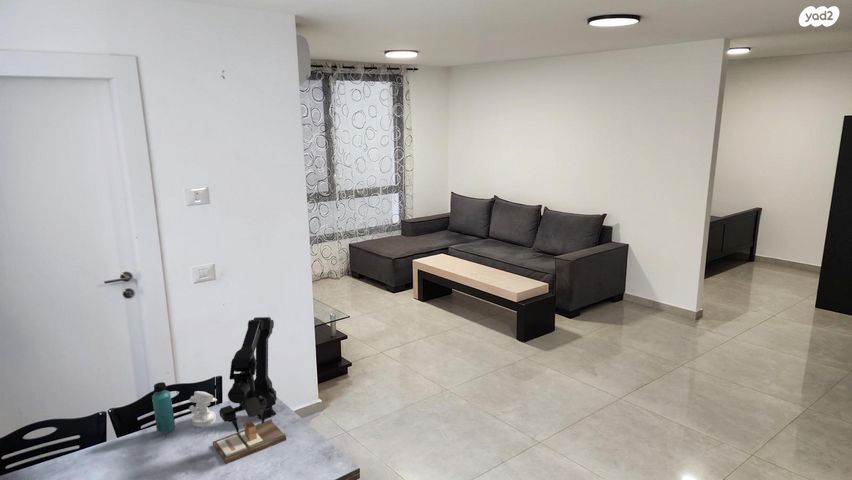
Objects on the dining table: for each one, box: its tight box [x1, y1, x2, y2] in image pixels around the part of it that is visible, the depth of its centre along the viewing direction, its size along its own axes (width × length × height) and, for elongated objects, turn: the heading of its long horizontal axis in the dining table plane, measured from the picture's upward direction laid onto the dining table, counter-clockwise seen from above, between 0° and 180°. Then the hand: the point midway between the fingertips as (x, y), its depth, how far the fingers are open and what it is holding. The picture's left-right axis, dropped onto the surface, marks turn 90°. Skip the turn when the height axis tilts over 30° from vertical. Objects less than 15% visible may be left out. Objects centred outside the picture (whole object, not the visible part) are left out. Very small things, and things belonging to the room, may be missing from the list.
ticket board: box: [212, 419, 287, 465], centre depth 194 cm, size 14×22×2 cm, turn 128°
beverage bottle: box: [151, 381, 176, 434], centre depth 200 cm, size 6×7×20 cm
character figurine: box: [188, 390, 218, 428], centre depth 208 cm, size 9×10×12 cm
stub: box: [239, 419, 263, 447], centre depth 194 cm, size 10×5×6 cm, turn 38°
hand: (250, 427), depth 194 cm, fingers open, 9 cm apart
